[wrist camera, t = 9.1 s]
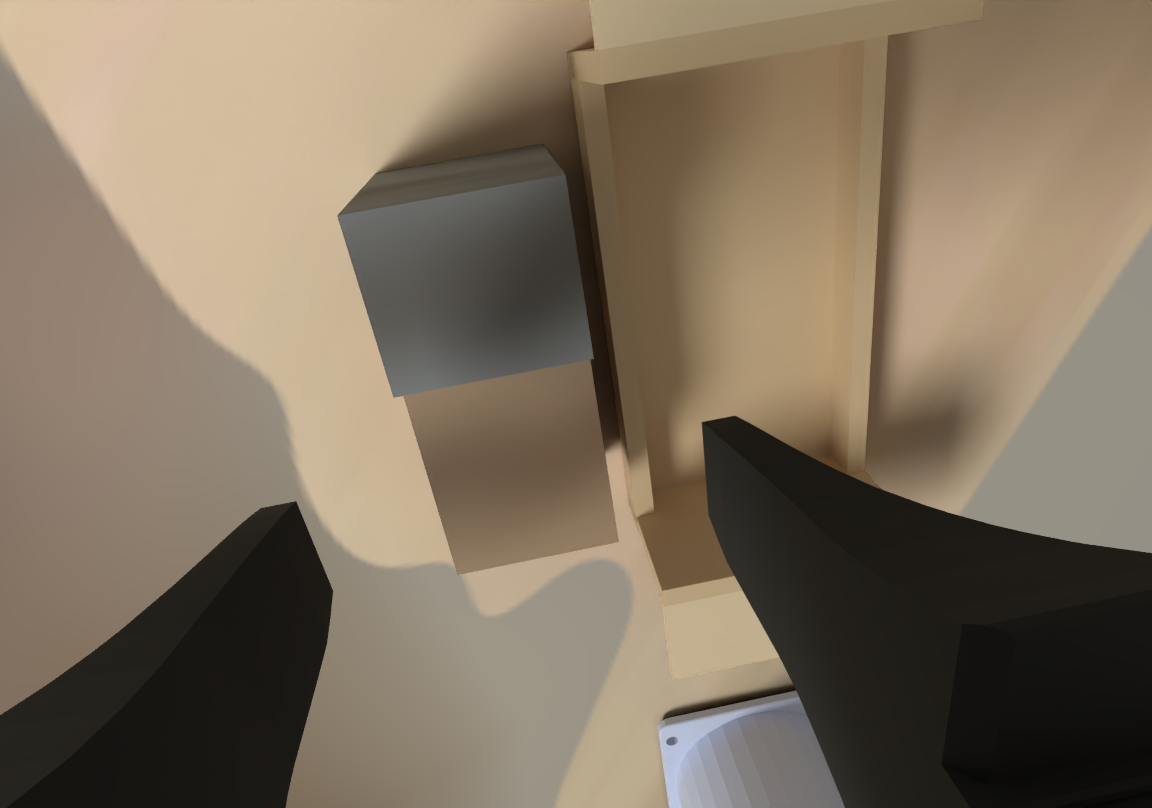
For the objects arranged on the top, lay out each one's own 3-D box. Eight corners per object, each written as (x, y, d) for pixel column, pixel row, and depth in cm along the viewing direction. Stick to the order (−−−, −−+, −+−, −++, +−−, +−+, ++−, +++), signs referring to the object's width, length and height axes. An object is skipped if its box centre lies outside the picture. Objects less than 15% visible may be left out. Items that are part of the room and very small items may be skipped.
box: (594, 458, 23) (625, 565, 18) (461, 484, 23) (456, 600, 18) (542, 144, 18) (565, 174, 14) (375, 173, 18) (337, 215, 13)
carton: (840, 530, 26) (916, 628, 21) (638, 571, 25) (673, 679, 21) (864, -142, 16) (1007, -215, 12) (547, -91, 16) (573, -147, 12)
